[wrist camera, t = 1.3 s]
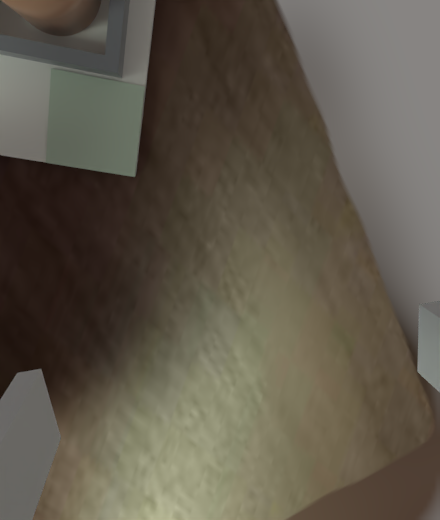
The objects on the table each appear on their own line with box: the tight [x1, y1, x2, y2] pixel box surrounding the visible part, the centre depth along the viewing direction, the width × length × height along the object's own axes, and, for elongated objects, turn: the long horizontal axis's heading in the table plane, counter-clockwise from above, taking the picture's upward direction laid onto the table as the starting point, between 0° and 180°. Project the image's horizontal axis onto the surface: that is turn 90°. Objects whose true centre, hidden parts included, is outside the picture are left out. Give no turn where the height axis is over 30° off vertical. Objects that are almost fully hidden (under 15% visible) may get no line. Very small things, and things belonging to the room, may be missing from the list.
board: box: [0, 0, 156, 177], centre depth 31 cm, size 12×18×1 cm, turn 170°
